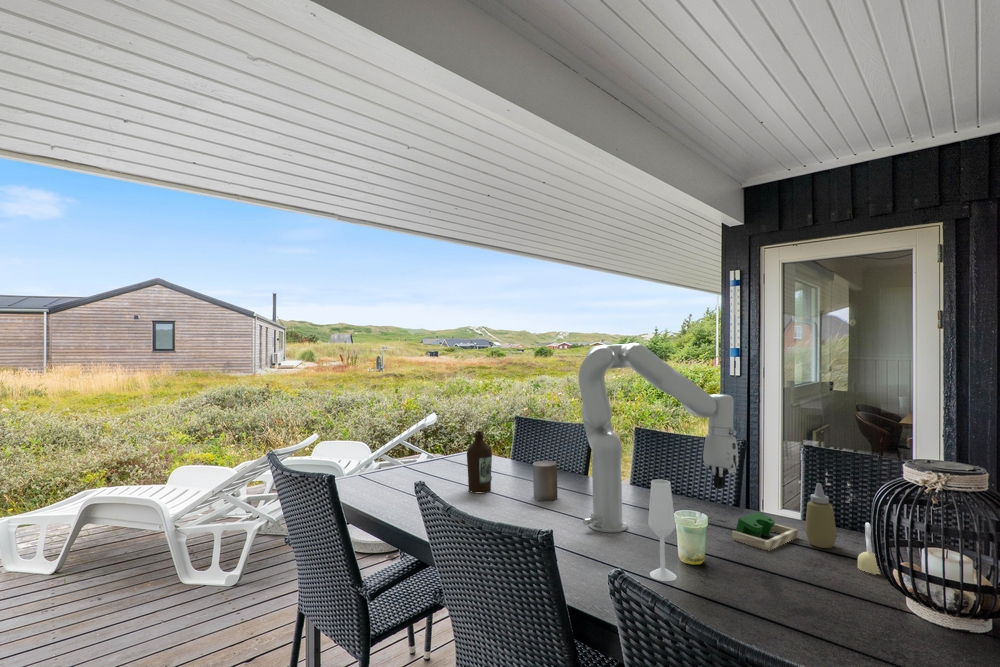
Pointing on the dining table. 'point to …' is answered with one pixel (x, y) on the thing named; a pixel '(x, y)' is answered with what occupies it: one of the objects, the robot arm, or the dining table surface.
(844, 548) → the dining table surface
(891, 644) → the dining table surface
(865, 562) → the pale yellow handled piece
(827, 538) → the squeeze bottle
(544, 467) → the pillar candle
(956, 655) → the dining table surface
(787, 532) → the keeper bracket
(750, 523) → the clamp
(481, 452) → the olive oil
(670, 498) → the champagne flute
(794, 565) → the dining table surface
